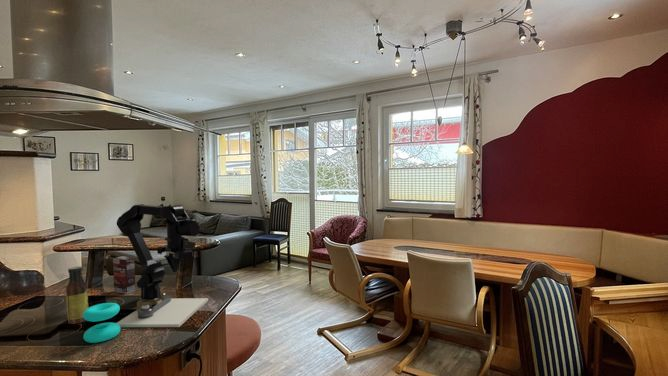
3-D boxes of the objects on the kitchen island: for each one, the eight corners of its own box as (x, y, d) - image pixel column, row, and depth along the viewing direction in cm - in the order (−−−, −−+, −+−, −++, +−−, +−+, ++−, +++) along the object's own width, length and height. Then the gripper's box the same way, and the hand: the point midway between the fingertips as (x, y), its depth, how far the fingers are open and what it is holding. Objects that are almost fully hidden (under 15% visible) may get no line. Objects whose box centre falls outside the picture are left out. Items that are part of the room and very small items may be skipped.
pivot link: (148, 318, 119) (148, 308, 119) (134, 318, 120) (134, 308, 119) (173, 300, 137) (173, 291, 137) (161, 300, 137) (161, 291, 137)
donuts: (80, 307, 108) (116, 299, 115) (81, 337, 108) (116, 327, 115) (85, 315, 101) (123, 306, 108) (86, 347, 101) (123, 336, 108)
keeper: (136, 312, 126) (136, 301, 125) (141, 309, 129) (141, 299, 128) (157, 312, 125) (157, 301, 125) (161, 309, 128) (161, 299, 128)
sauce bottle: (93, 319, 122) (91, 266, 122) (75, 326, 116) (73, 270, 116) (80, 316, 125) (79, 264, 124) (62, 323, 119) (60, 269, 118)
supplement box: (113, 292, 152) (112, 258, 151) (123, 288, 156) (122, 255, 156) (126, 294, 149) (125, 259, 148) (136, 290, 153) (135, 257, 153)
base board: (114, 327, 115) (114, 324, 115) (154, 300, 140) (154, 298, 140) (179, 327, 115) (178, 324, 115) (208, 300, 140) (207, 298, 140)
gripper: (204, 234, 139) (205, 271, 139) (181, 230, 150) (182, 264, 150) (179, 238, 130) (179, 277, 130) (156, 233, 141) (157, 269, 141)
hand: (175, 271), depth 138 cm, fingers closed
